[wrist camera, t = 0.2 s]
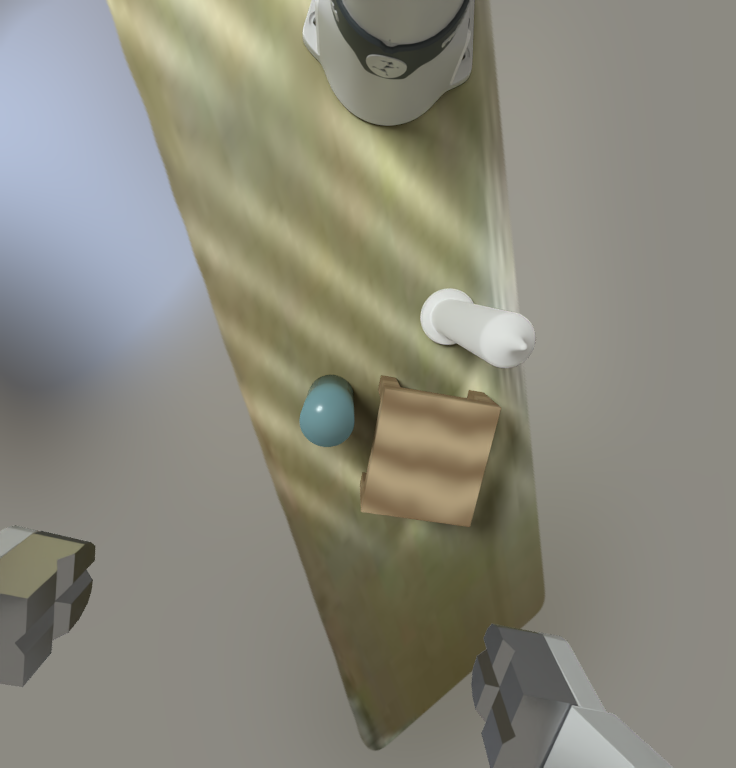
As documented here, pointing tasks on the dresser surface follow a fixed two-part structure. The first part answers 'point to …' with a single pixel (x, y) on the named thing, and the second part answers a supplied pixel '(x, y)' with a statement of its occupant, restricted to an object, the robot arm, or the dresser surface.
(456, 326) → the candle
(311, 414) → the teal domed cylinder
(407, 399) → the small wooden stool
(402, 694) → the dresser surface
